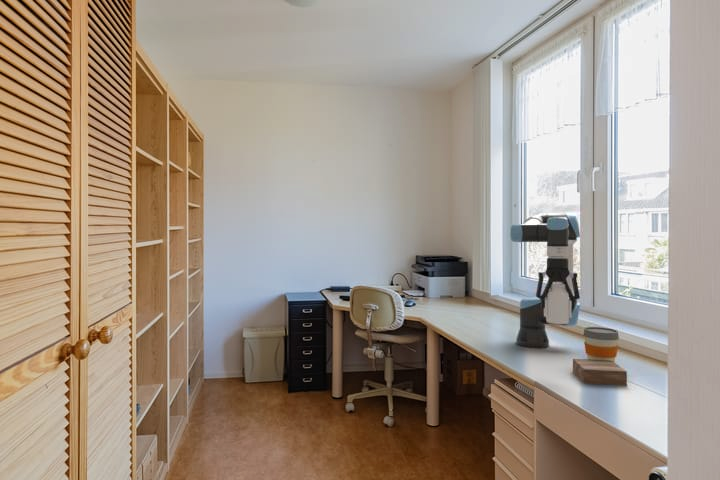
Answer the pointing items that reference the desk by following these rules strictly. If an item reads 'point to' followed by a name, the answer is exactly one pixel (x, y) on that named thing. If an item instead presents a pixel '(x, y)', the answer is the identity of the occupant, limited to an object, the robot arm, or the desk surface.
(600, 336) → the reusable coffee cup
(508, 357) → the desk surface
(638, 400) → the desk surface
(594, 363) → the walnut base
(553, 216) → the robot arm
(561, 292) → the pill bottle
